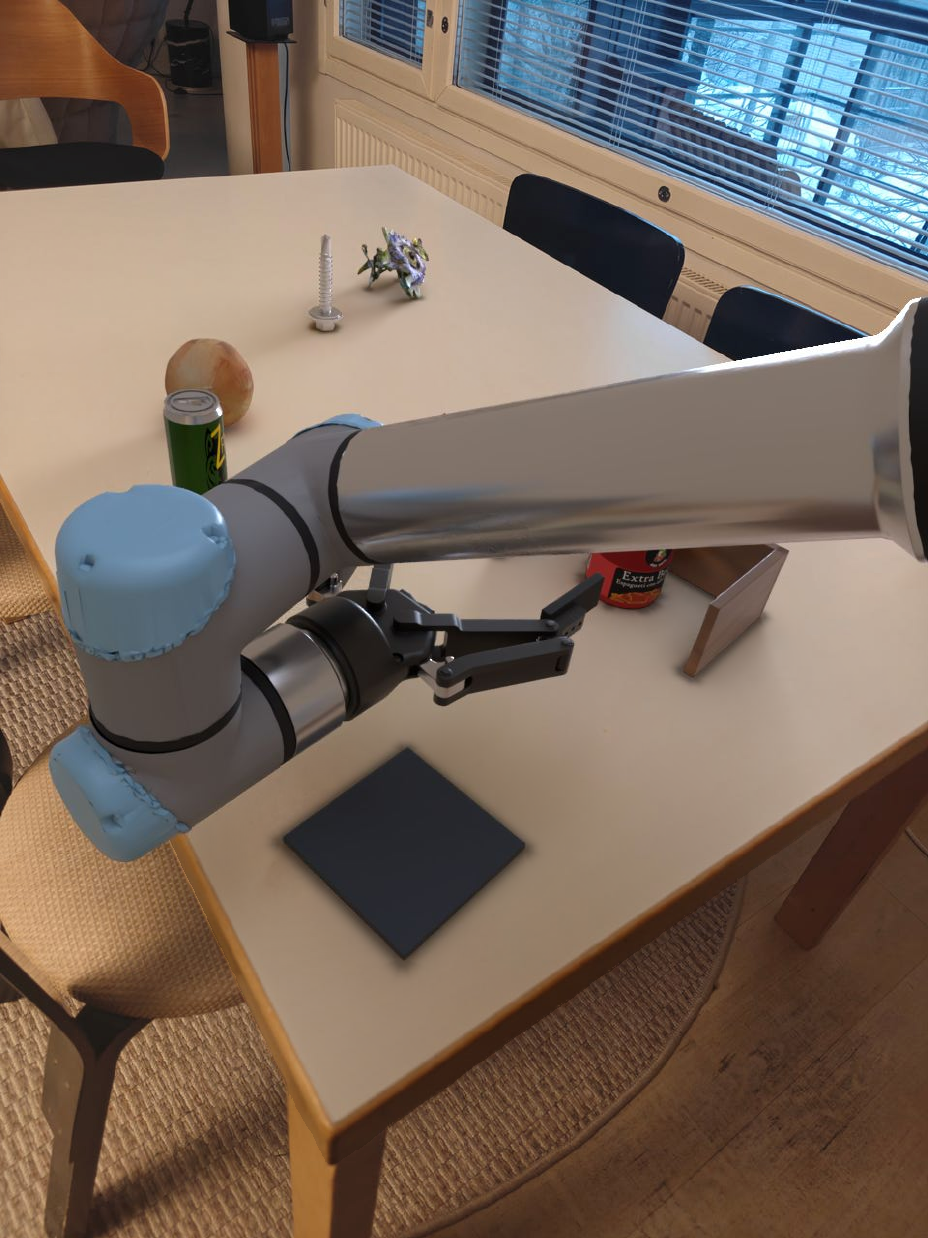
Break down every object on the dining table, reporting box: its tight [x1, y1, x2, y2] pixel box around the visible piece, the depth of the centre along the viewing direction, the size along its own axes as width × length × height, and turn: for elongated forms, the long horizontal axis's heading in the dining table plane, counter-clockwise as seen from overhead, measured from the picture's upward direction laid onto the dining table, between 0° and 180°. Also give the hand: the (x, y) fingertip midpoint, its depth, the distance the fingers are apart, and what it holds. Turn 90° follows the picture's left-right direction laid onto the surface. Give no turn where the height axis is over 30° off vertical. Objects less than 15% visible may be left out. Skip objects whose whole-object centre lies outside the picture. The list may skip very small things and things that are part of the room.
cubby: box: [668, 543, 790, 678], centre depth 84 cm, size 24×13×8 cm, turn 47°
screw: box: [307, 234, 343, 332], centre depth 121 cm, size 13×5×5 cm
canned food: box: [585, 549, 675, 610], centre depth 82 cm, size 8×8×11 cm
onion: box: [164, 337, 255, 427], centre depth 98 cm, size 10×10×10 cm
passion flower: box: [356, 226, 430, 299], centre depth 136 cm, size 11×11×12 cm
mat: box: [282, 746, 526, 960], centre depth 60 cm, size 12×12×1 cm
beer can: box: [162, 389, 229, 495], centre depth 84 cm, size 5×5×12 cm
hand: (526, 545), depth 66 cm, fingers open, 13 cm apart
